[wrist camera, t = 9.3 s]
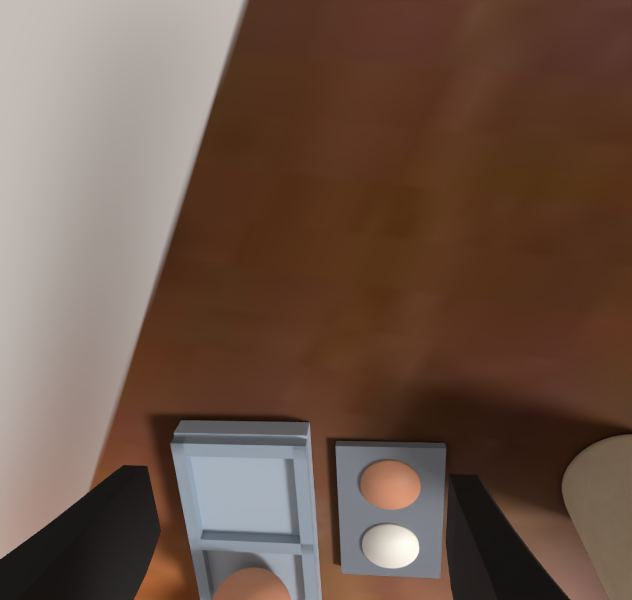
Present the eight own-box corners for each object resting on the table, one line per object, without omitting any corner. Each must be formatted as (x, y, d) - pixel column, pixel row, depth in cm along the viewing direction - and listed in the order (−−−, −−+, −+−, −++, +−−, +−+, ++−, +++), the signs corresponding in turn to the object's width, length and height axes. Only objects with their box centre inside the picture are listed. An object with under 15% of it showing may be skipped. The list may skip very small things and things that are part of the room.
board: (309, 422, 24) (305, 442, 22) (328, 700, 31) (326, 728, 29) (181, 420, 24) (169, 439, 23) (229, 692, 32) (222, 719, 30)
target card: (445, 442, 23) (446, 450, 23) (439, 571, 26) (440, 581, 26) (336, 440, 24) (335, 448, 23) (342, 566, 27) (341, 576, 26)
